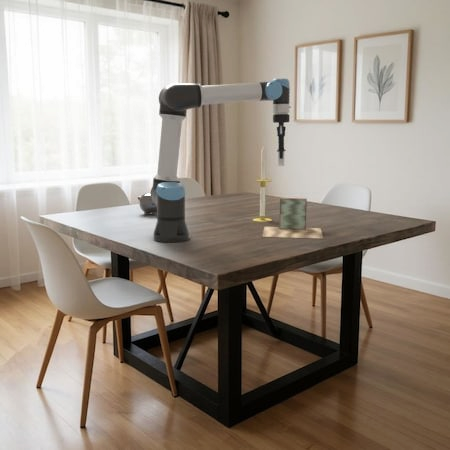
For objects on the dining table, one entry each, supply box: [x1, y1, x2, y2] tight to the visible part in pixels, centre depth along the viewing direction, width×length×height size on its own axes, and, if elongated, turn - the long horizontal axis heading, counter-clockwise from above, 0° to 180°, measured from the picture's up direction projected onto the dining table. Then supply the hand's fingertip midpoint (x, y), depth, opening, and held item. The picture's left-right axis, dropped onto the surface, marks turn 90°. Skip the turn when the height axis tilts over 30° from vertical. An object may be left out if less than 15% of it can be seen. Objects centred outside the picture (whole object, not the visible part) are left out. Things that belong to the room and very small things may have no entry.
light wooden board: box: [261, 226, 324, 240], centre depth 242 cm, size 26×22×1 cm
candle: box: [252, 145, 273, 223], centre depth 269 cm, size 10×10×38 cm
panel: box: [278, 197, 308, 230], centre depth 249 cm, size 12×3×14 cm, turn 83°
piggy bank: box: [137, 192, 157, 217], centre depth 287 cm, size 11×15×12 cm
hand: (281, 165), depth 252 cm, fingers closed
